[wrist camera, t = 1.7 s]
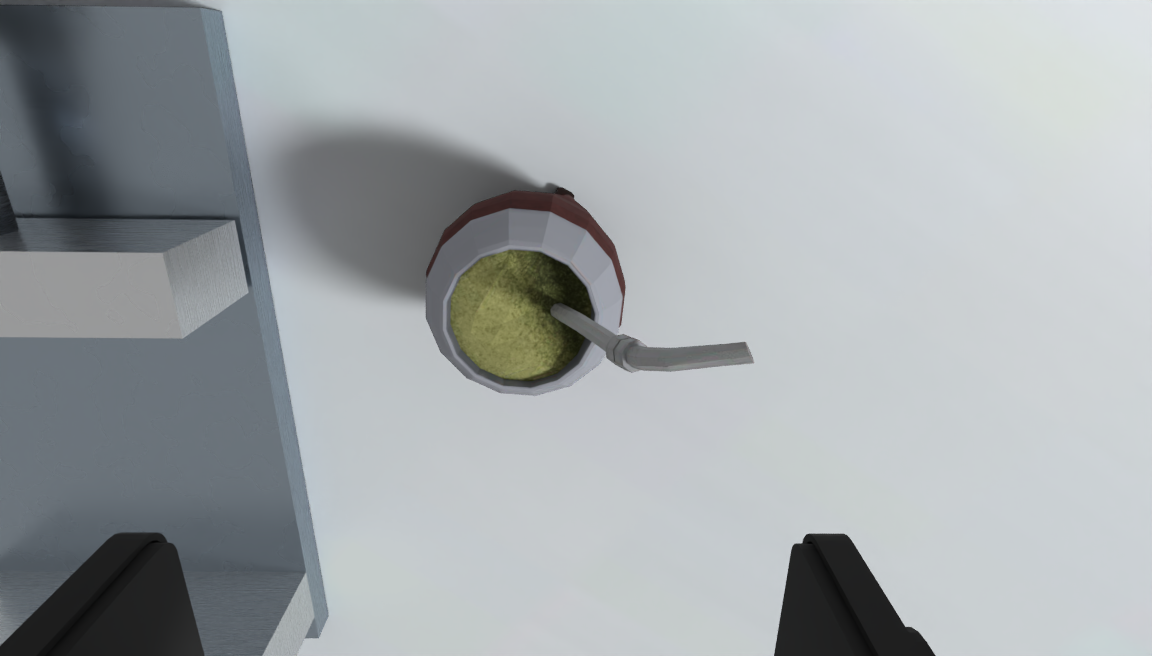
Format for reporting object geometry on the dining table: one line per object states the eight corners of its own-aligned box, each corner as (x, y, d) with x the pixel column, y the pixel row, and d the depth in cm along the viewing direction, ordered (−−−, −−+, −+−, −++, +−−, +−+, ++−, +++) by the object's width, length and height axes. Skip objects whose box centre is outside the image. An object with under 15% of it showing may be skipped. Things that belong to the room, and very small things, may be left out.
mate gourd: (427, 286, 28) (288, 499, 14) (503, 120, 26) (424, 182, 12) (577, 357, 30) (584, 614, 16) (664, 206, 27) (764, 353, 13)
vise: (-212, 4, 24) (-477, -17, 18) (221, 11, 24) (104, -8, 18) (35, 615, 35) (-76, 728, 29) (328, 615, 35) (278, 728, 29)
